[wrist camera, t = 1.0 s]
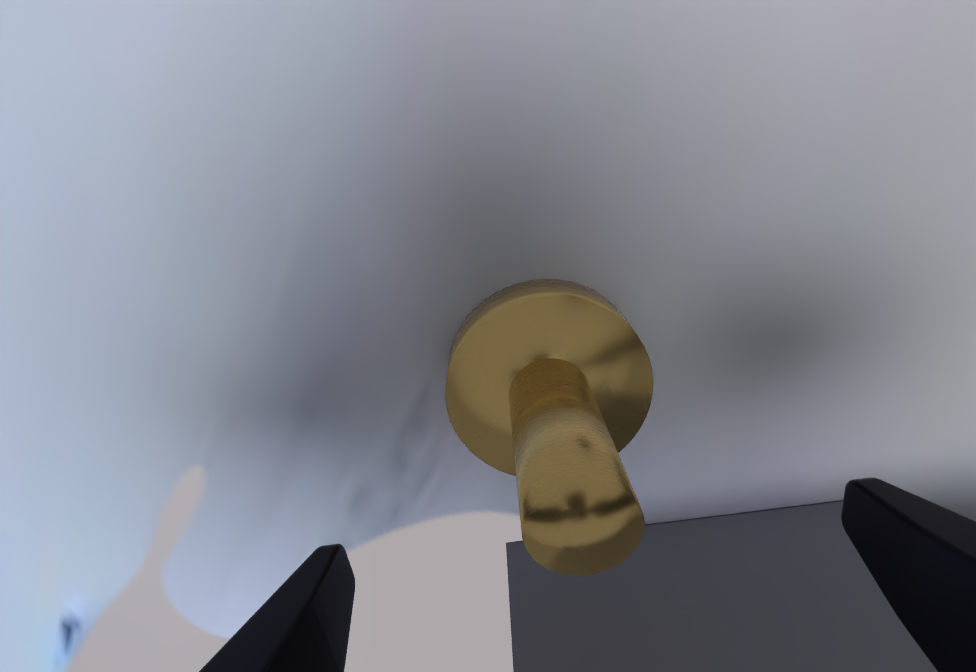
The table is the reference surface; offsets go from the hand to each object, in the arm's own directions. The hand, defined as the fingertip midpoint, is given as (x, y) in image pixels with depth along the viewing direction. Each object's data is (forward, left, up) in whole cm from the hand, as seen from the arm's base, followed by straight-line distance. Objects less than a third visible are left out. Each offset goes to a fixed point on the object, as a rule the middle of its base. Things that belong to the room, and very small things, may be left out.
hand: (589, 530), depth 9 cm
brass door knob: (0, 0, -6) cm, 7 cm away
